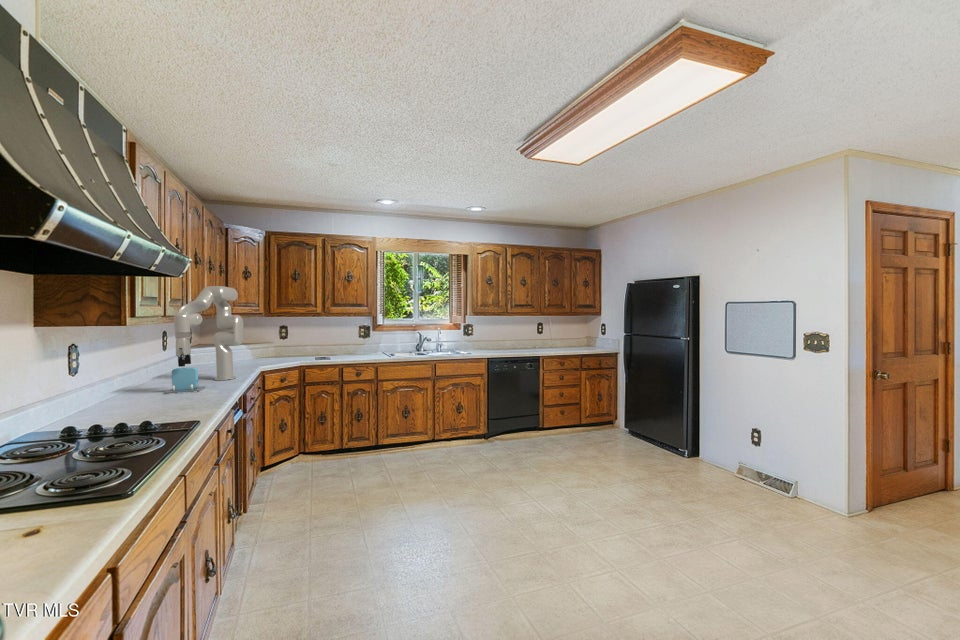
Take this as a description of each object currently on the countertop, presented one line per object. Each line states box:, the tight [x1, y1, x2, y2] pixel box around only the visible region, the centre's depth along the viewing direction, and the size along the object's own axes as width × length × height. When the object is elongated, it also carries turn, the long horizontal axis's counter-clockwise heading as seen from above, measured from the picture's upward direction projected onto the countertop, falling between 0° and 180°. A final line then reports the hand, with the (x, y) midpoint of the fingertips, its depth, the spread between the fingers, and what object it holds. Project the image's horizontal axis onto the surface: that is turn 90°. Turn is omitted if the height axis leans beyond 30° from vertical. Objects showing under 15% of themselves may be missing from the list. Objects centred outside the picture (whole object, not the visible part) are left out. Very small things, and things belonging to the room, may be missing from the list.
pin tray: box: [163, 384, 207, 394], centre depth 261 cm, size 14×17×4 cm
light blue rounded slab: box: [171, 366, 199, 390], centre depth 261 cm, size 12×4×12 cm, turn 108°
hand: (184, 365), depth 261 cm, fingers open, 9 cm apart
